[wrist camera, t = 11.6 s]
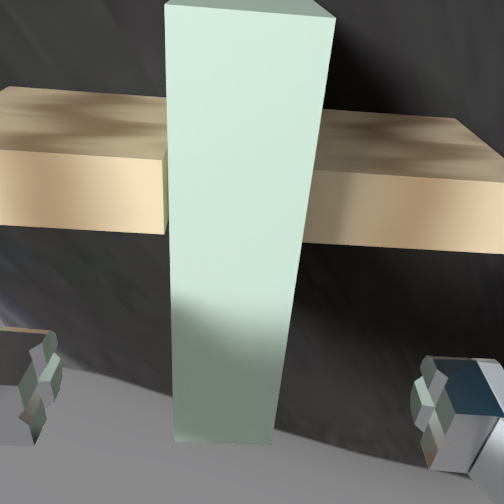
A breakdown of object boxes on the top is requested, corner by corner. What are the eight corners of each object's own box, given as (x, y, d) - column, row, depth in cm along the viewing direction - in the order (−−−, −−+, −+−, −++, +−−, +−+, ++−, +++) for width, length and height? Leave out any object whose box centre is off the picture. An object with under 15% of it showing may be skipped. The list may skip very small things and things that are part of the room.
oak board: (455, 118, 24) (536, 184, 17) (438, 173, 26) (506, 254, 19) (9, 86, 23) (-90, 143, 16) (20, 146, 25) (-65, 221, 18)
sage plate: (288, -19, 21) (336, 18, 10) (261, 252, 28) (271, 444, 17) (207, -26, 21) (164, 4, 10) (202, 248, 28) (173, 441, 17)
